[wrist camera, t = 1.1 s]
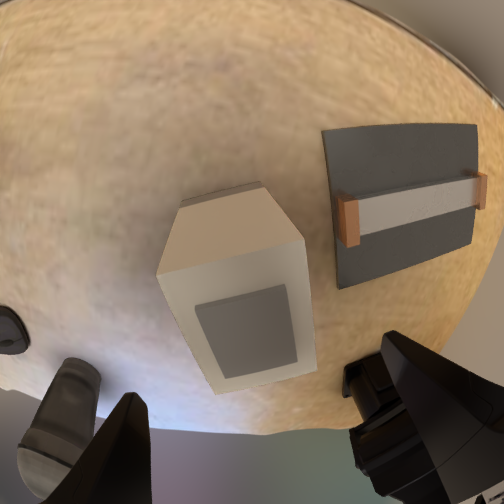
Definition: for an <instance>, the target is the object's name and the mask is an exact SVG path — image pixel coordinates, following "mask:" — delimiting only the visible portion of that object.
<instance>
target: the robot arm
mask: <svg viewBox="0 0 504 504" xmlns="http://www.w3.org/2000/svg"><path fill="white" fill-rule="evenodd" d="M342 395H343V398H348V397H350V396H352V397H353V399H354V401H355V403H356V405H357V408H358V410H359V412H360V414H361V416H362V419H363V421H364V422H363V423H361V424H360V425H358V426H356V427H355V428H354V427H353V428H351V429H349V432H350V441H351V444H352V449H353V454H354V458H355V466H356V468H358V469H360V470H361V471H362V473H363V474H364V475H365V476H367V477H370V479H371V482H372V484H373V487H374V489H375V492H376V493H378V494H379V495H381V496H382V497H386V496H388V495H389V496H391V497H393V498H395V499H397V500H399V501H402V502H403V504H458V503H460V502H462V501H465V500H466V499H469V498H471V497H473V496H475V495H477V494H479V493H481V494H480V495H479V496H478V497H477V499H476V501H475V504H504V387H502V386H500V385H497V384H495V383H493V382H490V381H488V380H486V379H484V378H482V377H480V376H478V375H476V374H474V373H472V372H471V371H468V370H467V369H465V368H463V367H461V366H459V365H458V364H456V363H454V362H452V361H450V360H448V359H446V358H444V357H443V356H441V355H439V354H437V353H435V352H434V351H432V350H430V349H428V348H426V347H424V346H423V345H421V344H419V343H417V342H415V341H413V340H411V339H410V338H408V337H406V336H404V335H402V334H400V333H399V332H397V331H394V330H392V331H389V332H387V333H384V335H383V337H382V343H381V353H380V354H377V355H375V356H372V357H369V358H367V359H364V360H361V361H359V362H356V363H353V364H351V365H348V366H346V367H345V369H344V380H343V392H342ZM39 504H152V491H151V443H150V432H149V420H148V408H147V405H146V403H145V402H144V401H143V400H142V399H141V397H140V396H139V395H138V394H137V393H136V392H127V393H125V394H124V395H123V396H122V398H121V399H120V401H119V402H118V403H117V405H116V406H115V408H114V409H113V410H112V412H111V413H110V414H109V416H108V417H107V419H106V420H105V422H104V423H103V424H102V426H101V427H100V429H99V430H98V431H97V433H96V434H95V436H94V437H93V438H92V440H91V441H90V443H89V444H88V446H87V447H86V448H85V450H84V451H83V453H82V454H81V456H80V457H79V459H78V460H77V461H76V463H75V464H74V466H73V467H72V468H71V470H70V471H69V473H68V474H67V475H66V476H65V478H64V479H63V480H62V481H61V482H60V484H59V485H58V486H57V487H56V488H55V489H54V490H53V492H52V493H51V494H50V495H49V496H48V497H47V498H46V499H45V500H44V501H43V502H41V503H39Z"/></svg>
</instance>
